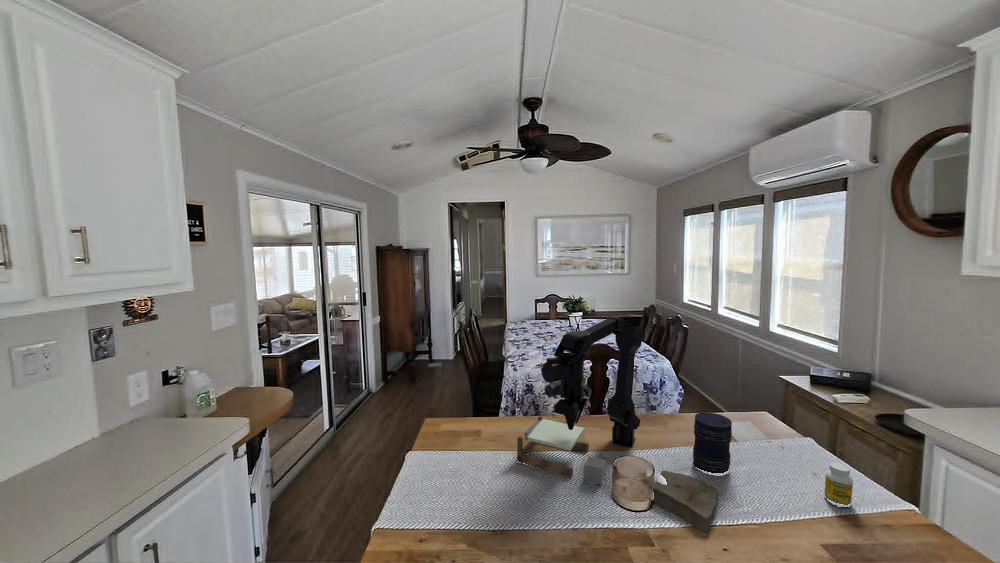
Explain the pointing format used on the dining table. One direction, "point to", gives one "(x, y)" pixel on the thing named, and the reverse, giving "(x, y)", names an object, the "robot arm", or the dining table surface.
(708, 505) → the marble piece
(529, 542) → the dining table surface
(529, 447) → the frame
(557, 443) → the trapdoor
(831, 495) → the supplement bottle
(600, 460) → the gray cube
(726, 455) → the storage jar
